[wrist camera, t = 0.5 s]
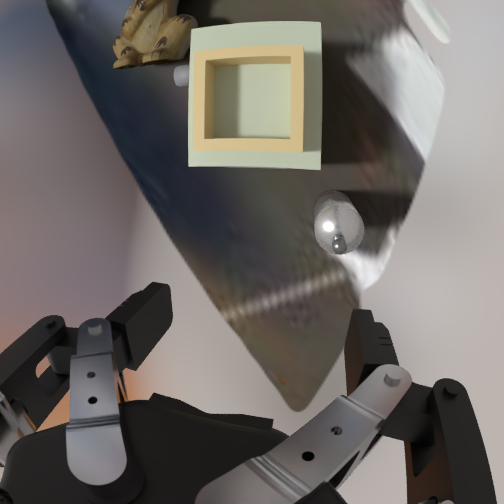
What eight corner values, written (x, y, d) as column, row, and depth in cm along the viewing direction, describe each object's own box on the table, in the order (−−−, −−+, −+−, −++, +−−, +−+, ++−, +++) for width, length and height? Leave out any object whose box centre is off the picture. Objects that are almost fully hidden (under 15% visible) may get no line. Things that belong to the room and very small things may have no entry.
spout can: (315, 188, 33) (316, 207, 23) (353, 191, 32) (370, 212, 23) (313, 225, 35) (312, 259, 25) (350, 228, 34) (363, 263, 24)
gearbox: (193, 53, 30) (151, 27, 20) (319, 48, 27) (320, 11, 18) (192, 163, 35) (147, 172, 25) (318, 166, 32) (320, 175, 22)
